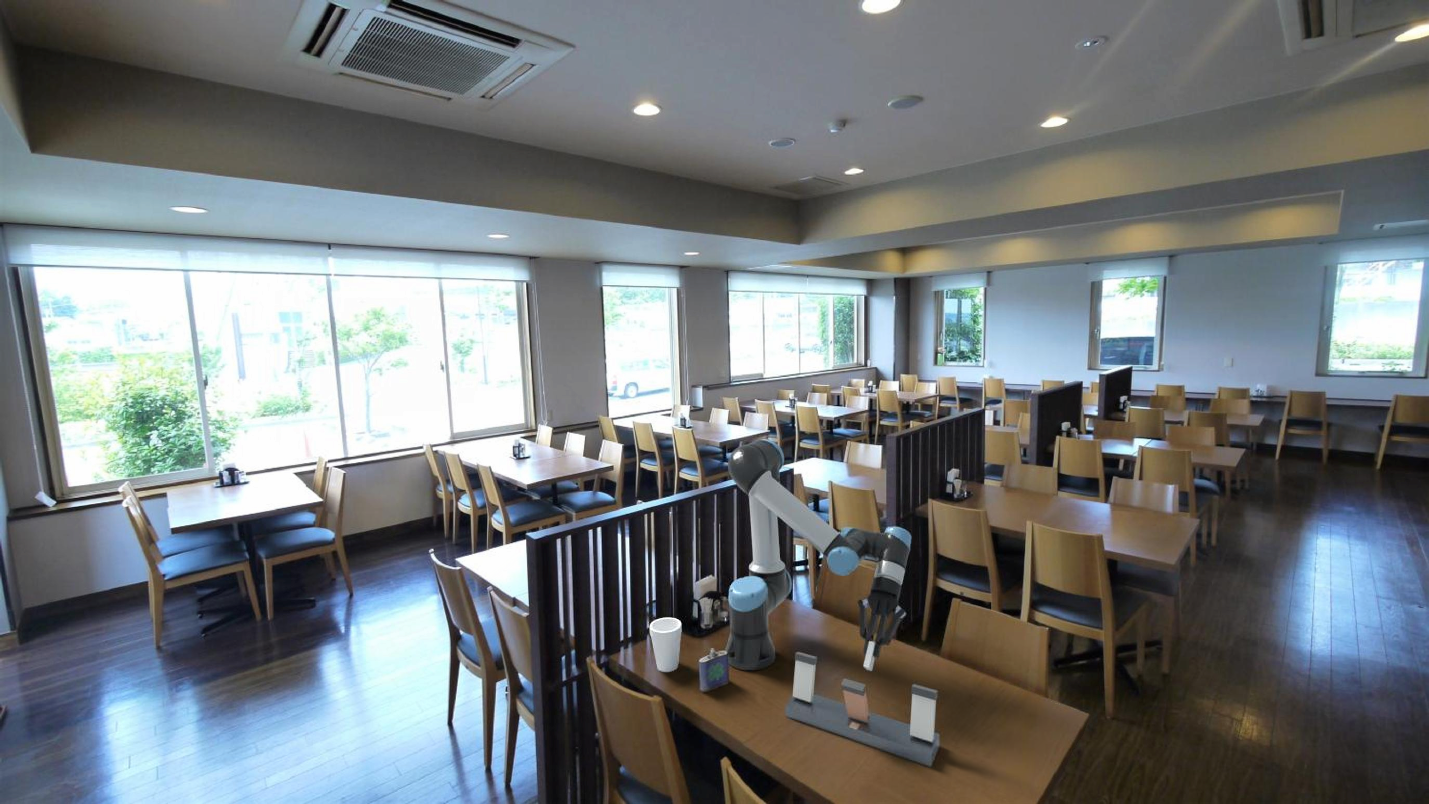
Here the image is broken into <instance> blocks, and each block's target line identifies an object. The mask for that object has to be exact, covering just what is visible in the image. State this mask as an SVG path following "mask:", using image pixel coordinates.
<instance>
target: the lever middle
mask: <svg viewBox="0 0 1429 804" xmlns="http://www.w3.org/2000/svg"><path fill="white" fill-rule="evenodd" d="M840 687H841V690H842V691H843V697H844V702H845V703H844V704H846V708H847V714H848V716H849V717H852V718H855V719H858V720H861V721H864V722H867V723H868V721H869V718H870V715H869V712H870V710H869V706H868V698H867V693H866V691H867V685H866V684H864V683H862V682H858V681H855V680H851V679H847V678H843V679H842V681H841V682H840Z"/></svg>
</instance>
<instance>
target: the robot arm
mask: <svg viewBox="0 0 1429 804" xmlns="http://www.w3.org/2000/svg"><path fill="white" fill-rule="evenodd" d="M784 455H785V454H784V452H783V449H782V448H781V446H780V445H778V444H777V443H776V442H775V441H774V440H771V439H766V438H764V439H757V440H753V441H750V442H749V443H747V444H744V445H740V446H738V447H737V448H735V449H734V450H733V451H731V454H730V456H729V458H728V462H727V468H728V472H729V474H730V478H731V479H732V481H733V482H734V483H735V484H736V485H737V487H738V488H739V489H740V490H741V491H743V493H745V494H746V495H747V496H748V499H749V503H748V504H749V514H750V527H751V529H750V530H751V545H752V561H751V563H750V564H749V565H748V572H749V574H748V576H744V577H740V578H738V579H735V580H734V581H733V582H732V583H731V585H730V586H729V589H728V599H727V600H728V607H729V608H728V609H729V626H730V627H729V629H730V631H729V637H728V640H727V644H726V647H725V651H727V652H728V662H729V664H728V665H730V666H731V667H733V668H736V669H738V670H743V671H759V670H763V669H765V668H767V667H769V666H771V665H772V664H773V663H774V662H775V659H776V649H775V646H774V644H773V640H772V638H771V636H770V632H769V615H770V614H771V613H773V611H774V610H775V609H776V608H777V607H778V606H779V605H780V604H782V603H783V602H784V601H786V599H787V598H788V597H789V594H790V593H791V591H792V586H793V585H792V577H791V574H790V573H789V572H788V571H787V569H786V564H785V562H783V561H782V559H781V557H780V544H779V543H780V542H779V541H780V539H779V523H778V518H779V519H781V520H782V521H783V522H784V523H785V524H786V525H788V526H789V527H790V528H791V529H792V530H793V531H795V532H796V533H797V534H798V535H799V536H800V537H802V538H803V539H804V540H805V541H806V542H808V544H810V545H811V546H812V547H813V548H815V549H816V550H817V551H818V552H819V553H820V554H821V555H823V557H825V558H826V562H827V563H826V564H827V565H828V568H829V570H830V571H831V572H832V573H834V574H835V575H838V576H842V577H845V576H848V575H851V573H852V572H854V571H855V570H857V569H858V567H859V565H860V564H861V563H862V562H863V561H864V560H865V559H866V558H868V559H874V560H878V561H877V563H876V568H875V572H874V578H873V580H872V584H871V589H870V593H869V594H868V596H867V597H866V599H858V601H857V604H858V606H859V635H860V637H861V639H863V640H864V641H865V642H864V647H863V650H862V651H863V654H864V655H865V657H864V661H863V668H864V669H865V670H867V671H870V672H872V671H873V668H874V664H875V659H879V657H880V654H881V651H882V647H883V646H889V645H890V644H891V642H892V640H893V638H894V637H895V633H896V631H897V630H898V627H899V626H900V623H901V621H902V620H904V618H905V617H906V616H907V613H906V611H905V610H904V608H901V606H900V602H899V599H900V595H901V590H902V585H903V582H904V581H903V580H904V576H905V573H906V567H907V562H908V559H909V558H908V557H909V554H910V551H911V544H912V535H911V533H910V532H909V531H908V530H907V529H905V528H902V527H900V526H888V527H886V528H885V531H884V532H883V533H882V532H877V531H871V530H867V529H860V528H858V527H849V526H845V527H843V528H842V529H841V531H840V532H838V531H837V530H836V529H834V527H832V526H831V525H830V524H829V523H828V522H826V521H825V520H824V519H822V517H820V516H819V515H818V514H817V513H816V512H814V511H813V510H812V509H810V508H809V506H807V505H806V504H805V503H803V502H802V501H801V500H800V499H799V498H798V497H796V496H795V495H794V494H793V493H792V492H790V491H789V489H787V488H786V487H784V485H782V484H781V479H780V478H781V476H780V470H781V469H782V468H783V467H784V463H785V456H784ZM868 605H869V606H868ZM868 607H870V609H871V611H870V614H871V615H870V618H869V622H868V612H867V611H868V610H867V609H868ZM894 612H895V614H894V616H893V617H892V620H891V622H890V624H889V626H888V622H889V618H890V616H891V615H892V614H893V613H894ZM879 618H880V619H879ZM878 621H879V624H878ZM867 623H868V624H867ZM877 626H878V628H877ZM887 626H888V628H887ZM876 629H877V632H876ZM886 629H887V630H886ZM875 635H876V636H875ZM874 641H875V642H874Z"/></svg>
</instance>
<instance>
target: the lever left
mask: <svg viewBox="0 0 1429 804" xmlns="http://www.w3.org/2000/svg"><path fill="white" fill-rule="evenodd" d="M794 660H795V665H794V675H793V687H792V688H793V689H792V697H796V698H799V699H802V700H805V701H808V702H812V701H813V694H814V689H815V681H816V680H815V677H816V665H817V664H818V656H814V655H811V654H807V653H804V652H801V651H797V652H795V653H794Z"/></svg>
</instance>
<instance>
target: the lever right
mask: <svg viewBox="0 0 1429 804" xmlns="http://www.w3.org/2000/svg"><path fill="white" fill-rule="evenodd" d="M910 693H911V707H910V709H911V712H910V723H909V724H910V735H912V736H915V737H918V738H921V739H924V740H928V741H931V742H933V740H934V732H935V725H936V723H935V722H936V710H937V709H936V705H937V699H938V690H936V689H932V688H930V687H926V686H923V685H919V684H915V683H913V684H912V685H911V691H910Z"/></svg>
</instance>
